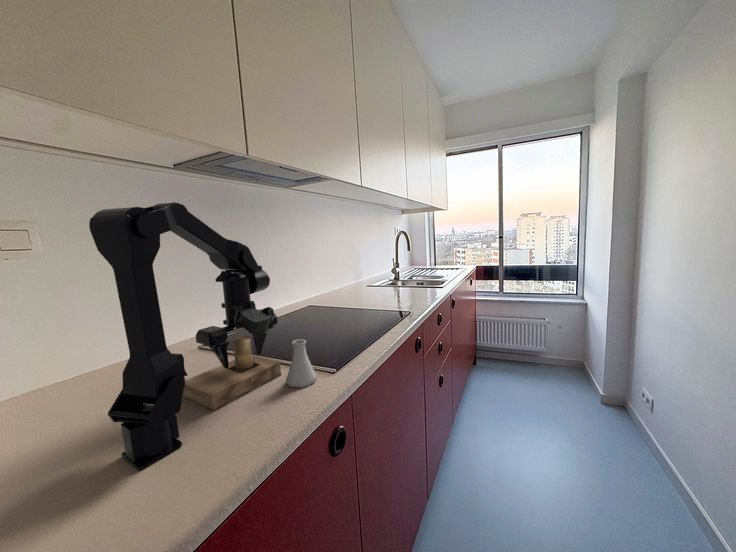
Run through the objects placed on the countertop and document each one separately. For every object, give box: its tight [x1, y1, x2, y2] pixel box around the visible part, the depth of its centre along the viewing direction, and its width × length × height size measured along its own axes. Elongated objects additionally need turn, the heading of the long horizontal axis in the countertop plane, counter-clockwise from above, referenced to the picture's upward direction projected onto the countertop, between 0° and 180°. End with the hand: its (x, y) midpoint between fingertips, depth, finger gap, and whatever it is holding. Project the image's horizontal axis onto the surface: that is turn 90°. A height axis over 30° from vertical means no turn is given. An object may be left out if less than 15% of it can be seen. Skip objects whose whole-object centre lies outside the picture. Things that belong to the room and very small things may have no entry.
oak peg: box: [232, 336, 254, 374], centre depth 74 cm, size 4×4×10 cm
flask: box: [285, 338, 318, 388], centre depth 73 cm, size 7×7×10 cm
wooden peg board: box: [182, 354, 282, 412], centre depth 72 cm, size 18×12×4 cm, turn 149°
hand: (243, 360), depth 74 cm, fingers open, 9 cm apart
